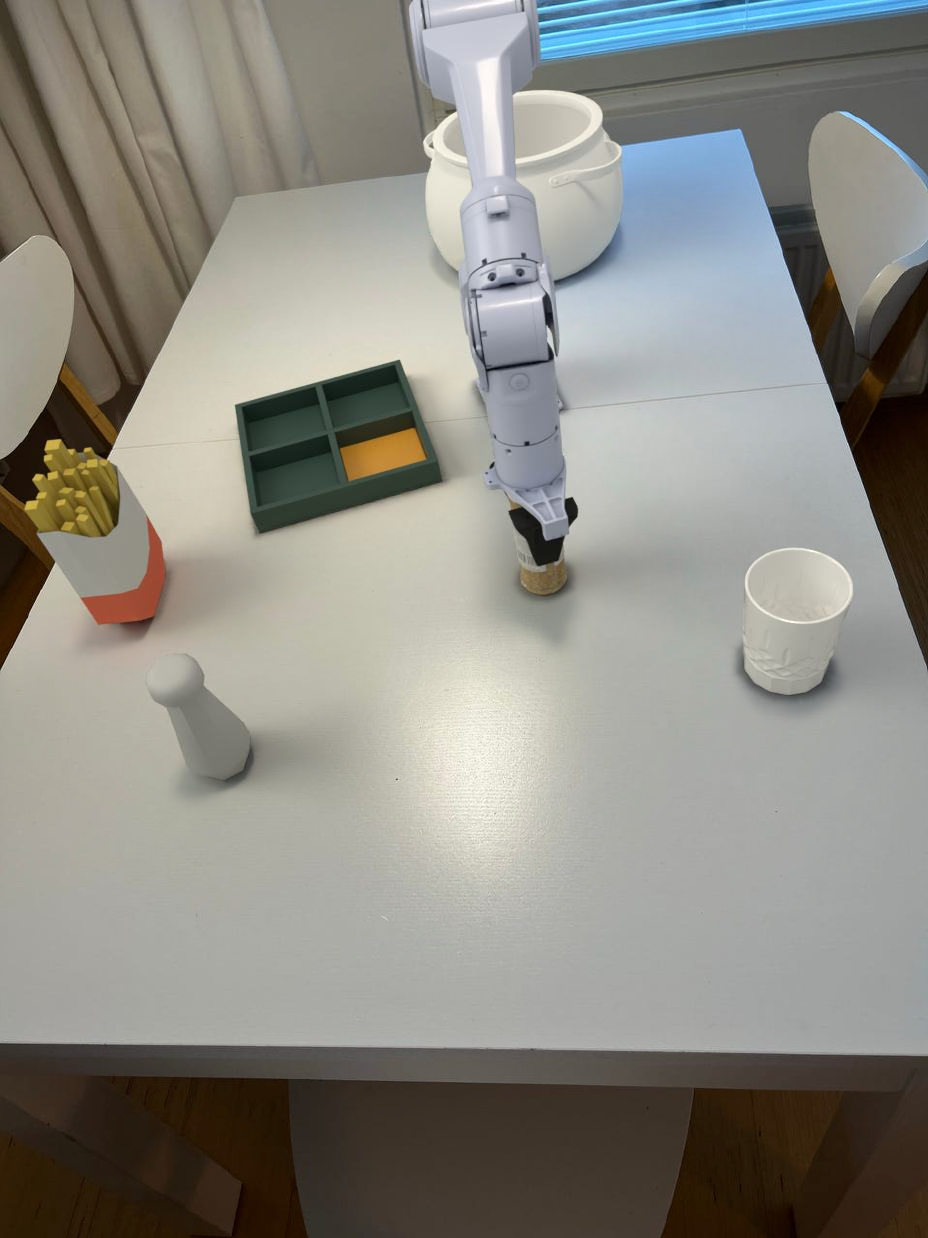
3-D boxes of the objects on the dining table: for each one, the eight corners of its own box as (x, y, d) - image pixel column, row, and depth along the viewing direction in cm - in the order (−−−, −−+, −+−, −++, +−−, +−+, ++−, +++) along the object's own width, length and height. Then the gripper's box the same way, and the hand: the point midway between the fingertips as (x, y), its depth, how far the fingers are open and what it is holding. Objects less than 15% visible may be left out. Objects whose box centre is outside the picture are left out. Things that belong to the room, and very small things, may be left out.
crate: (242, 423, 114) (234, 404, 111) (404, 379, 115) (399, 358, 113) (259, 533, 100) (250, 513, 98) (442, 481, 101) (438, 460, 99)
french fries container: (174, 557, 100) (100, 421, 86) (152, 636, 92) (68, 500, 79) (133, 562, 100) (53, 427, 87) (108, 641, 93) (17, 506, 79)
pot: (392, 276, 131) (365, 157, 119) (495, 189, 144) (481, 73, 132) (568, 317, 118) (559, 188, 106) (665, 218, 131) (667, 92, 118)
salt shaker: (197, 737, 84) (137, 645, 74) (260, 727, 83) (208, 634, 73) (190, 794, 80) (126, 705, 70) (256, 783, 79) (201, 693, 70)
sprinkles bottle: (577, 580, 89) (568, 472, 79) (538, 604, 88) (524, 497, 78) (548, 554, 92) (535, 447, 82) (510, 577, 91) (493, 470, 80)
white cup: (837, 636, 80) (857, 554, 73) (829, 710, 76) (849, 631, 68) (743, 621, 83) (752, 541, 75) (729, 692, 78) (737, 614, 71)
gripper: (455, 387, 80) (477, 504, 91) (501, 493, 71) (519, 610, 81) (534, 366, 81) (546, 485, 91) (590, 467, 71) (597, 588, 81)
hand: (539, 542), depth 86 cm, fingers closed on sprinkles bottle, 4 cm apart
